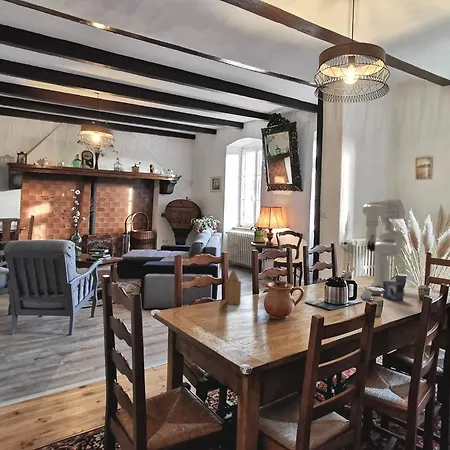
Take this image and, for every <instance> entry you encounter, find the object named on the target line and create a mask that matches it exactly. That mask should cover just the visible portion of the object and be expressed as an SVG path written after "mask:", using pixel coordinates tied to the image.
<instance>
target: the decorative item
mask: <svg viewBox="0 0 450 450" xmlns="http://www.w3.org/2000/svg"><path fill="white" fill-rule="evenodd" d="M224 287H225V288H224V291H225V293H224V303H226V304H227V305H230V306H234V305H236V306H237V305H240V304H241V297H242V296H241V293H242V291H241V289H242V281H241V280H240V279H239V277H238V275H237V272H236V271H235V268H232V270H231V272H230V274H229V276H228V278H227V279H226V280H225V286H224Z"/></svg>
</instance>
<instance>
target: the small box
mask: <svg viewBox="0 0 450 450" xmlns="http://www.w3.org/2000/svg"><path fill="white" fill-rule="evenodd" d="M404 286H405V284H404V283H402V282H401V283H400V282H398V281H394V280H388V281H384V282H383V288H382V290H383V289H384V290H385V291H384V292H383V291H382V298H384V299H386V300H390V301H392V302H397V303H398V302H402V301H404Z"/></svg>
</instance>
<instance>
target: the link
mask: <svg viewBox="0 0 450 450" xmlns="http://www.w3.org/2000/svg"><path fill="white" fill-rule="evenodd" d="M361 294H362V295H361V296H362V297H363V298H364V299H371V291H369V290H367V288H362V293H361Z"/></svg>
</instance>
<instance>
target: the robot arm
mask: <svg viewBox="0 0 450 450" xmlns="http://www.w3.org/2000/svg"><path fill="white" fill-rule="evenodd" d="M403 203H404V202H402V200H401V199H400V198H384V199H382V200H380V201H374V202H368V203H366V204H364V205H363V207H362V210H361V211H362V214H363V215H364V216H366V217H365V220H366V221H365V226H366V233H365V234H366V235H365V240H366V241H367V243H366V249H367V250H369V252H374V263H373V264H374V267H373V282H371V284H370V285H371V286H372V287H375V286H380V287H379V288H381V287H383V282H384V281H389V270H390V269H389V267H390V262H389V259H388V258H387V257H394V258H395V257H400V254H401V251H402V247H403V242H404V233H403V232H402V231H400V230H395V224H394V223H393V221H391V220H403V219H404V218H406V217H405V216H406V210H405V207H404V204H403ZM379 218H380V219H379ZM379 220H380V223H381V229H380V231H379V236H378V239H379V241H377V242H376V240H377V227H379Z"/></svg>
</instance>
